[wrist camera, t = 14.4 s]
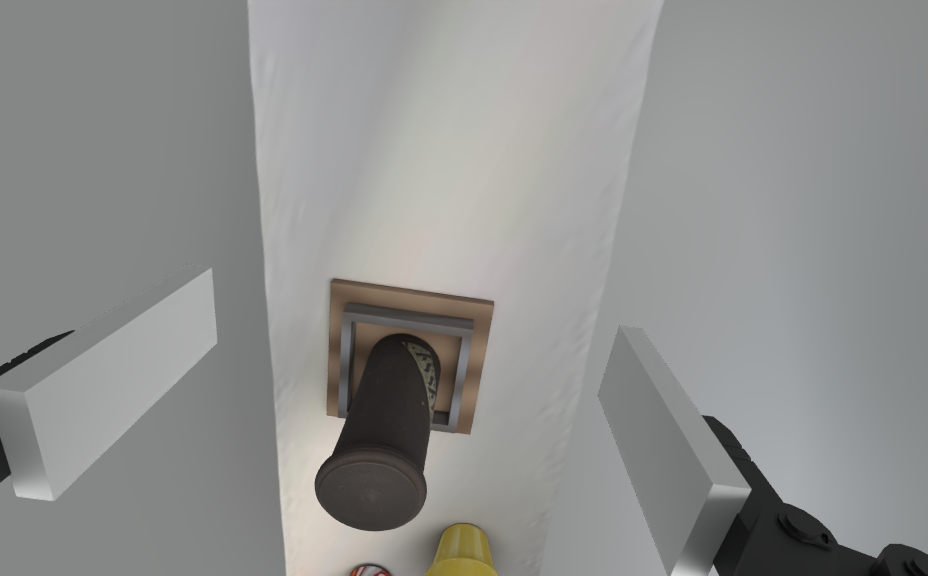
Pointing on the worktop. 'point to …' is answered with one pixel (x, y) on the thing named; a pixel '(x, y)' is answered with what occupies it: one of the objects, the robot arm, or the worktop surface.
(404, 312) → the collar stand
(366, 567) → the soda can
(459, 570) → the plant pot
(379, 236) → the worktop surface
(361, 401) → the container
